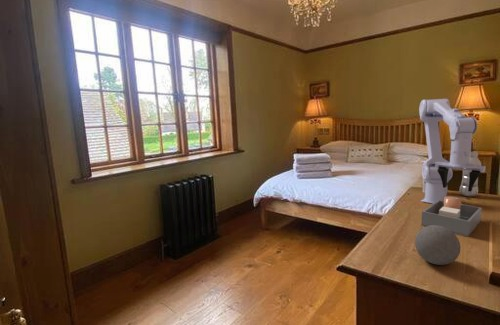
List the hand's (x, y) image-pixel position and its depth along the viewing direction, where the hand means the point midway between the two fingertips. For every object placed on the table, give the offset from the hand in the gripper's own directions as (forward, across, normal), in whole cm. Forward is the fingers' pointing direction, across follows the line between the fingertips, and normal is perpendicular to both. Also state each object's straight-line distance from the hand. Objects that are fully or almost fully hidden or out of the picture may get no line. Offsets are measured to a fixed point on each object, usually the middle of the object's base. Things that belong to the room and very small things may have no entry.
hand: (457, 188), depth 104 cm
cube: (+10, +1, -11) cm, 15 cm away
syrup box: (+11, -16, +28) cm, 34 cm away
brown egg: (+10, 0, -4) cm, 10 cm away
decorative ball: (+11, +6, -40) cm, 42 cm away
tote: (+10, +1, -8) cm, 13 cm away
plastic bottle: (+11, -2, +32) cm, 33 cm away
